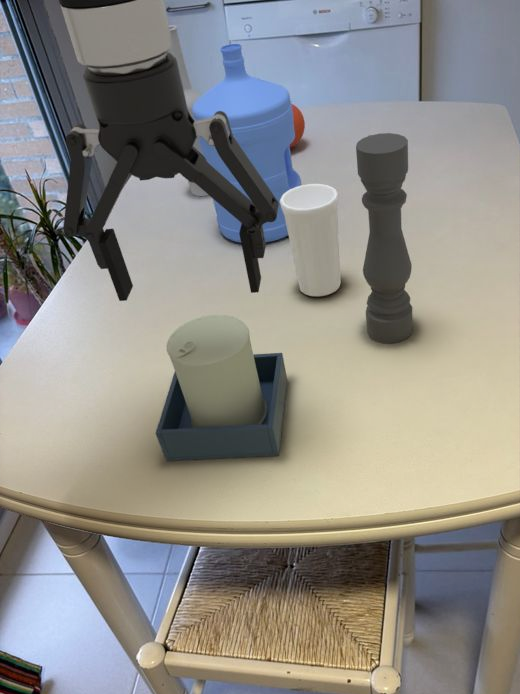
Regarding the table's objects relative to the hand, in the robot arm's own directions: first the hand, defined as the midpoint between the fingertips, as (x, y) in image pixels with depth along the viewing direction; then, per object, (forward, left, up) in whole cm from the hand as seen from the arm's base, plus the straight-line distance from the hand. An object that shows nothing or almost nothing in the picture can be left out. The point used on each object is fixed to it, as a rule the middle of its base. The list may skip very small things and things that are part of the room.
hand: (190, 289), depth 66 cm
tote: (0, 0, -18) cm, 18 cm away
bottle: (-14, +67, -18) cm, 71 cm away
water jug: (-1, +50, -18) cm, 53 cm away
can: (0, 0, -18) cm, 18 cm away
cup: (+10, +28, -18) cm, 35 cm away
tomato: (0, +84, -18) cm, 86 cm away
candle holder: (+20, +16, -18) cm, 32 cm away
